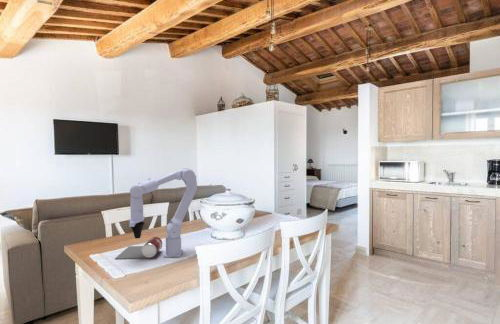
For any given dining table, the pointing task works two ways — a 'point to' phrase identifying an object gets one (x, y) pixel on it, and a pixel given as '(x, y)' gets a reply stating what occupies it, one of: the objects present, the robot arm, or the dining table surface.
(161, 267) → the dining table surface
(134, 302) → the dining table surface
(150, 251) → the soda can
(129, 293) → the dining table surface
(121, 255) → the mat
